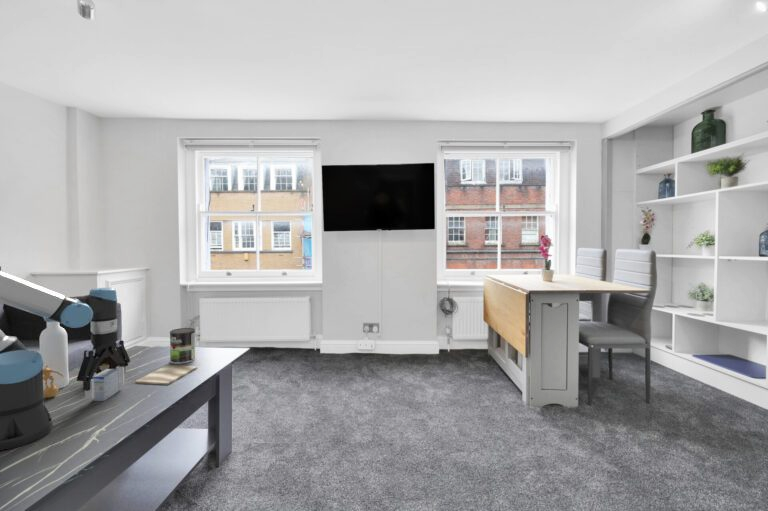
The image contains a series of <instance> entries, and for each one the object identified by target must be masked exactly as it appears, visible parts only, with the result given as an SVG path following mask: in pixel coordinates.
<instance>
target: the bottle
mask: <svg viewBox="0 0 768 511" xmlns="http://www.w3.org/2000/svg"><path fill="white" fill-rule="evenodd" d="M60 325H61V323H59V322H55V321H53V322H46V327H45V329H43V330H42V331H41V333H40V335H39V340H38V341H39V353H40V354H41V356H42V360H43V369H44V368H45V367H46V366H49V368H50V369H51V370H55V371H58V372H59V373H61V374H62V375H63V377H62V376H61V375H59V374H58V373H55V372H51V373H50V376H51V375H52V376H53V378H54V381H53V383H52V385H54V386H56V387H57V388H58V390H60V389H63V388H65V387H67V386H69V384H70V383H69V382H70V376H69V351H68V350H69V347H68V346H69V345H68V344H69V343H68V333H67V331H66V329H65V328H63V327H62V326H60ZM43 376H44V375H43ZM51 381H52V380H50V379H49V378H48V380H47V385H48V386H51ZM45 382H46V381H44V379H43V391H44V390H45V388H46V385H45Z"/></svg>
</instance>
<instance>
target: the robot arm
mask: <svg viewBox="0 0 768 511" xmlns="http://www.w3.org/2000/svg"><path fill="white" fill-rule="evenodd" d="M117 296H118V295H117V291H116V289H115V288H113V287H97V288H92V289H90V290H89V293H88V294H87V295H80V296H79V295H78V296H65V295H63V294H61V293H58V292H55V291H53V290H50V289H48V288H46V287H43V286H40V285H37V284H35V283H32V282H30V281H28V280H25V279H22V278H19V277H18V276H14V275H11V274H9V273H6V272H3V271H1V270H0V303H1V304H4V305H7V306H8V307H9V306H10V307H13V308H16V309H18V310H22V311H24V312H28V313H30V314H33V315H37V316H39V317H42V318H43V320H44V322H46V323H47V322H53V321H55V322H59V323H60V324H62V325H64V326H65V327H68V328H73V329H78V328H82V327H85V326H87V325H89V323H90V332H91V334H90V342H91V343H90V344H92V349H90V350H88V349H87V350H84V351H83V359H82V362H81V365H80V368H79V372H78V374H77V376H76V382H82V387H83V391H84V399H85V400H92V399H94V380H92V377H93V376H95V374H96V372H95V371H96V369H97V368H98V366H99V364H100V362H101V361H102V360H103V359H104V358H106V357H111V358H112V359H113V360H114V361H115V362H116V363H117V365H118V367H116V369H119V385H125V383H126V379H125V378H126V376H125V375H126V367H127V366H129V363H131V359H130V357H129V355H128V352H127V350H126V347H125V343H124V342H125V341H124V340H122V339H121V340H120V339H119V338H118V336H119V335H118V331H117V329H118V297H117ZM96 357H97V358H96ZM43 391H44V390H43V360H42V356H41V354H40V352H38V351H36V350H30V349H27V348H26V346H25V345H24V344H23V343H22V342H21V341H20V340H19V338H18V337H17V336H12V335H6V334H5V333H4V331H3V330H1V328H0V450H1V451H6V450H5V449H7V450H10V449H15V448H18V447H21V446H25V445H27V444H29V443H32V442H34V441H38V440H39V439H41V438H43V437H45V436H46V435H48V434H49V433H50V432H51V431H52V430H53V427H54V425H53V418H52V417H51V414H50V412H49V411H48V409H47V406H46V405H45V400H44V398H45V396H44V392H43Z"/></svg>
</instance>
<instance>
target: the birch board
mask: <svg viewBox="0 0 768 511" xmlns="http://www.w3.org/2000/svg"><path fill="white" fill-rule="evenodd" d="M197 369H198V366H197V365H196V366H194V365H193V366H191V365H177V364H175V365H174V364H172V365H171V364H167V365H165V366H163V367H161V368H158V369H157V370H155V371H153V372H150V373H149V374H146V375H144V376H142V377H140V378H139V379H136V380H135V381H134V383H135V384H145V385H147V384H149V385H166V386H169V385H171V384H172V383H175V382H176V381H178V380H179V379H182V378H183V377H185V376H187V375H188V374H189V373H190V374H191V373H192V372H194V371H195V370H197Z"/></svg>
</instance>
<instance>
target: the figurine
mask: <svg viewBox="0 0 768 511" xmlns="http://www.w3.org/2000/svg"><path fill="white" fill-rule="evenodd" d="M51 372H55V373H58V374H59V375H61V376H62V377H63V375H62V374H61V373H59V372H58V371H55V370H51V369H50V368H49V366H46V367H45V368H44V369H43V375H44V376H43V379H44V381H46V382H45V385H46V388H45V390H43V392H44V398H45V397H46V398H49V399H50V398H54V397H56V396H57V394H59V389H58V388H57V387H56V386H54V385H52V383H53V381H54V378H53V376H52V375H51V376H50V373H51ZM48 378H49V379H50V380H52V381H51V386H48V385H47V380H48Z"/></svg>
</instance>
